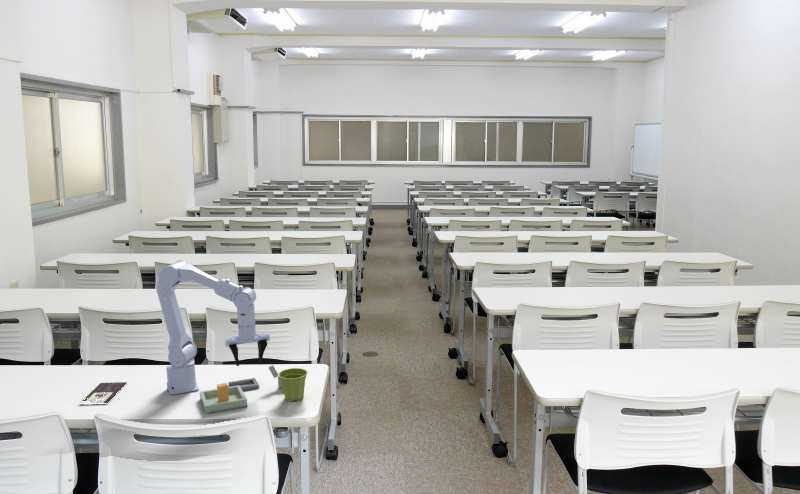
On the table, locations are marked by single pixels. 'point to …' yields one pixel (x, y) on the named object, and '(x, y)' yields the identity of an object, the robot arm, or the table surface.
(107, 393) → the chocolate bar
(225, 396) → the pin
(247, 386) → the frame
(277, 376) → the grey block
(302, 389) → the plant pot
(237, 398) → the tray
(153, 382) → the table surface
